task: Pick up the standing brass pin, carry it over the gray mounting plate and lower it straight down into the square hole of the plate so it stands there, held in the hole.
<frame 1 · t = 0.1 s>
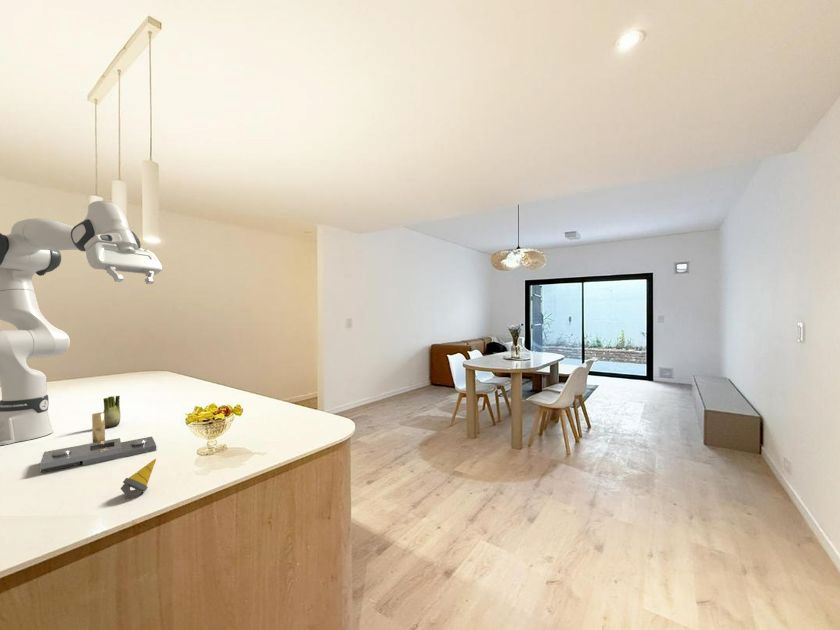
hand: (135, 282, 115), 54 cm above the counter, fingers open, 8 cm apart
fennel bulb: (111, 427, 142), on the counter
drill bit: (138, 492, 89), on the counter
brass pin: (98, 442, 124), on the counter
gray mounting plate: (102, 455, 112), on the counter
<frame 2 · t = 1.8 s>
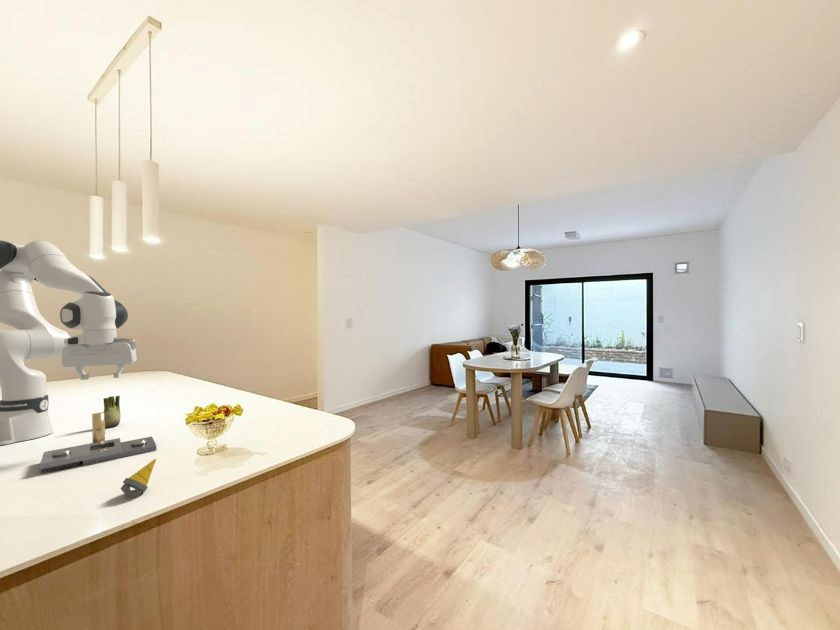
hand: (101, 378, 124), 22 cm above the counter, fingers open, 8 cm apart
nothing on the counter moved.
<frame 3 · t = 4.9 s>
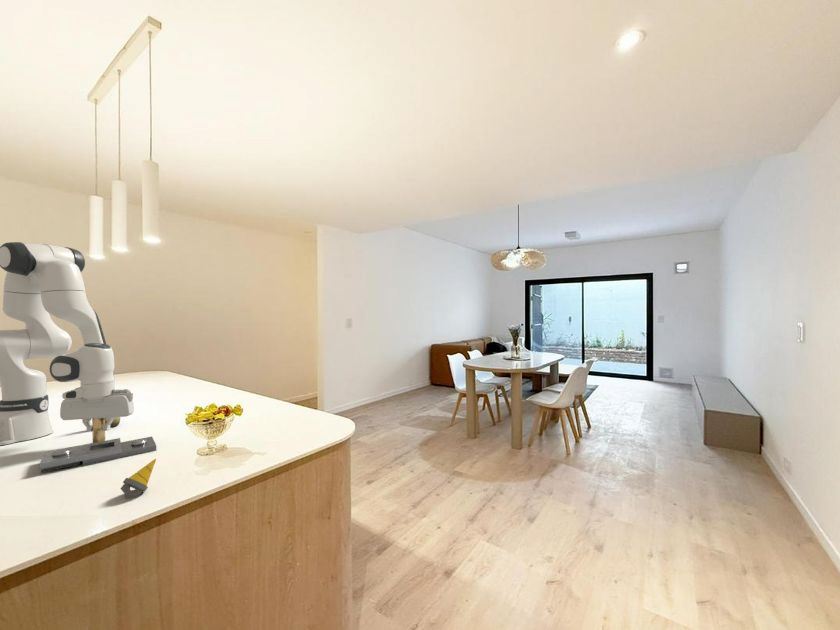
hand: (98, 430, 124), 4 cm above the counter, fingers closed on brass pin, 3 cm apart
brass pin: (98, 442, 124), on the counter, touching gripper
everything else where it was.
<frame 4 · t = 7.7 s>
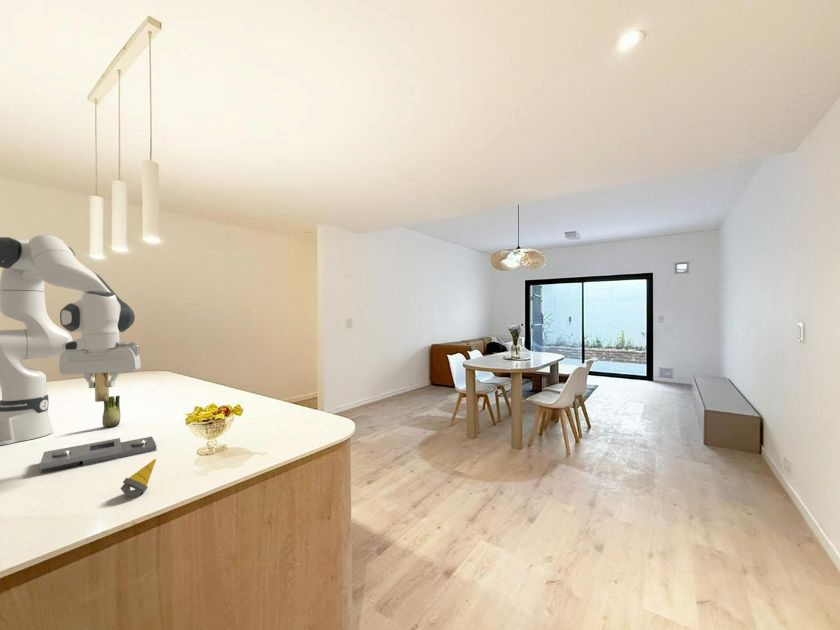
hand: (101, 387, 112), 21 cm above the counter, fingers closed on brass pin, 3 cm apart
brass pin: (102, 400, 112), point 17 cm above the counter, touching gripper
everything else where it was.
when the fingers open (6 cm above the counter, at t = 10.9 s): brass pin drops 1 cm, resting in gray mounting plate.
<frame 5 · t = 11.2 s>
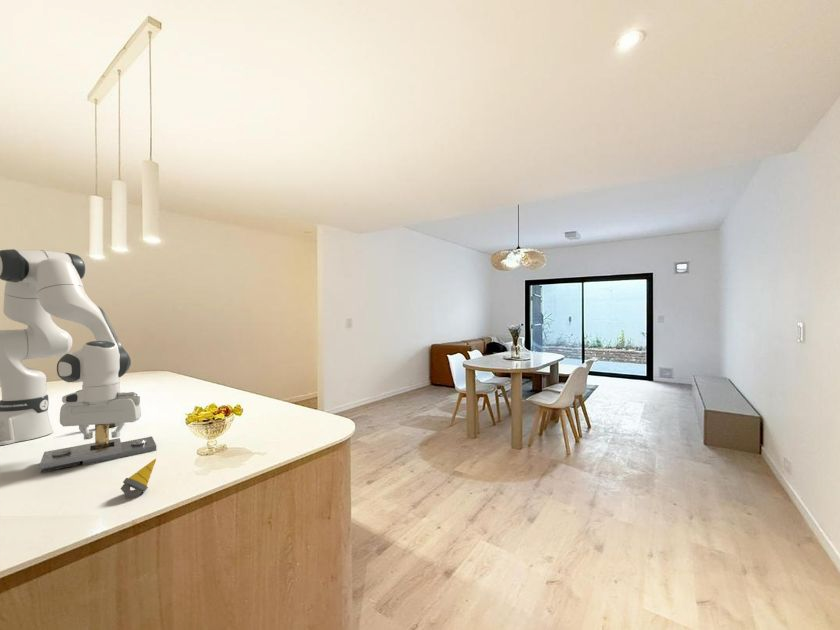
hand: (102, 437, 112), 6 cm above the counter, fingers open, 6 cm apart
brass pin: (102, 455, 112), resting in gray mounting plate
everything else where it was.
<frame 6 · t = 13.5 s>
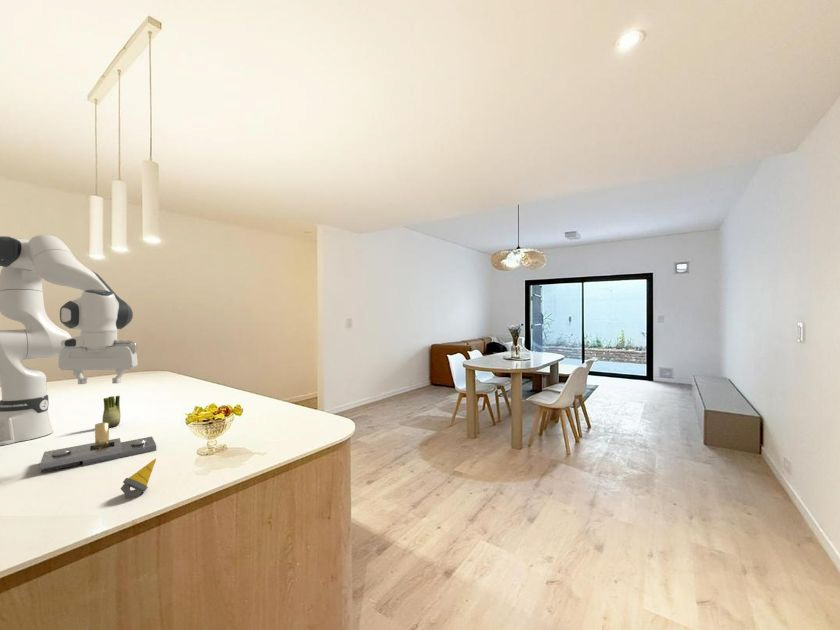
hand: (99, 383, 116), 22 cm above the counter, fingers open, 8 cm apart
nothing on the counter moved.
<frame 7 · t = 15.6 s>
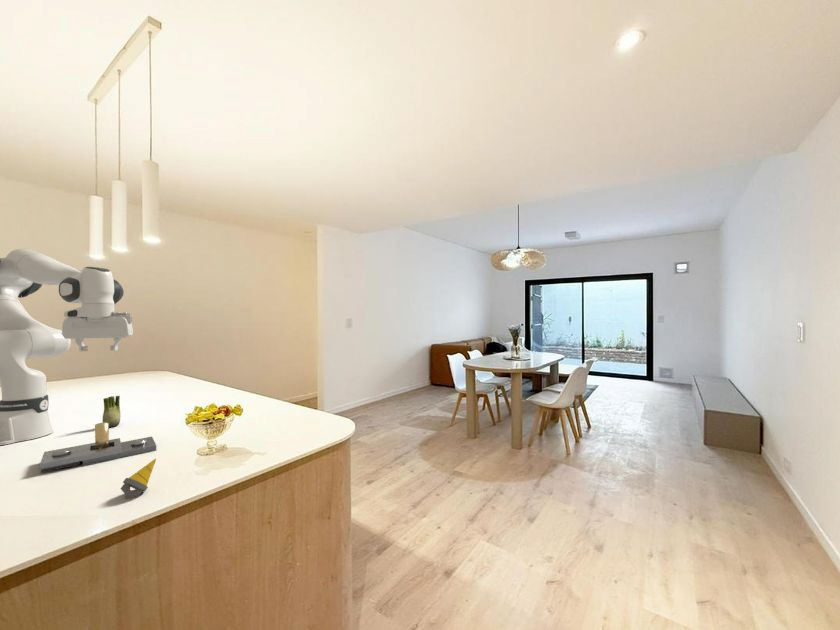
hand: (98, 350, 129), 31 cm above the counter, fingers open, 8 cm apart
nothing on the counter moved.
at the end: brass pin 0.1 cm off-centre on the gray mounting plate, point 0.0 cm above the gray mounting plate's base; brass pin tilted 0°; the gripper is holding nothing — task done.
